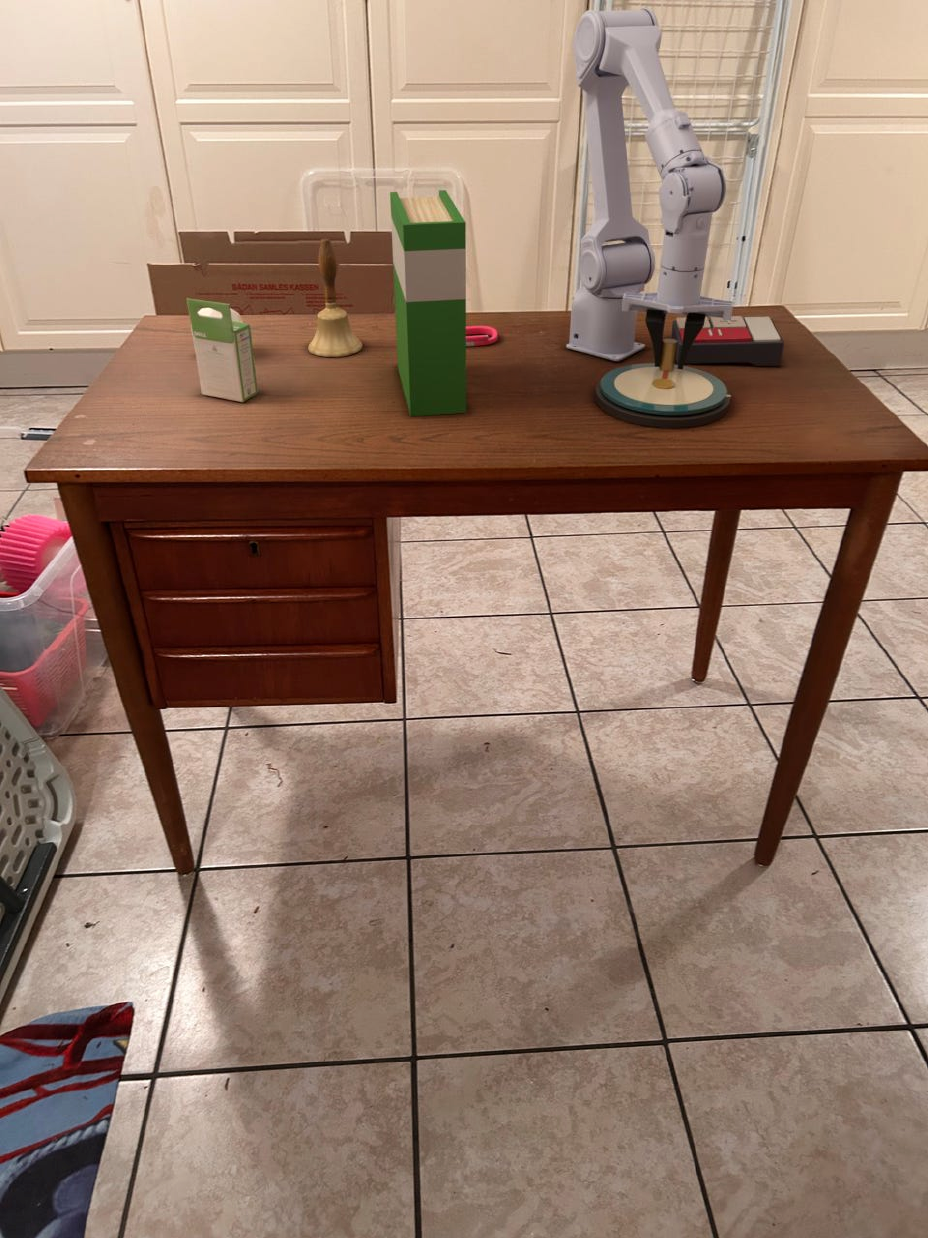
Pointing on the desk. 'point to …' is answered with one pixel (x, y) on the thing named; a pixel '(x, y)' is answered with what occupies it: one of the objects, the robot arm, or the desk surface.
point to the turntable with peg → (663, 386)
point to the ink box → (223, 353)
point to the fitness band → (482, 338)
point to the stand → (660, 420)
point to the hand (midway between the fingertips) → (669, 365)
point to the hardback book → (430, 302)
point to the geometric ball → (214, 313)
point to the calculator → (732, 341)
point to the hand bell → (332, 314)
